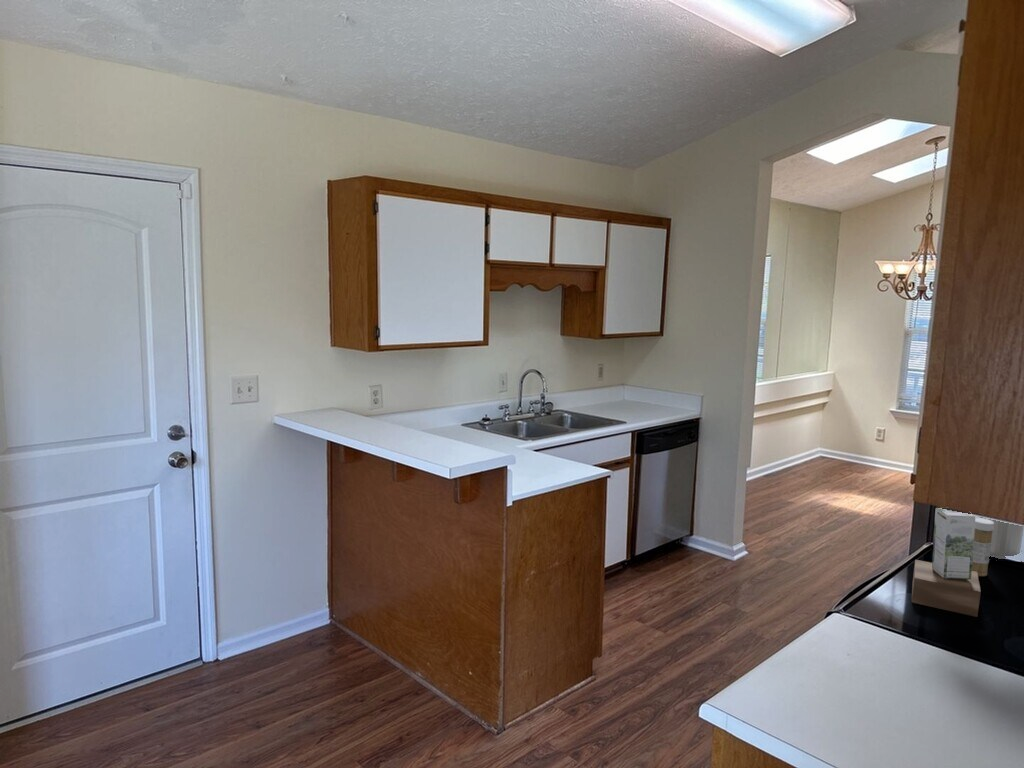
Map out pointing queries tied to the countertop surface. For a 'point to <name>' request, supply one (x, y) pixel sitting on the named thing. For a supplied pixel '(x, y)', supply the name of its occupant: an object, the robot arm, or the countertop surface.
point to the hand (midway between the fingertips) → (968, 461)
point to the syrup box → (953, 544)
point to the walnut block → (945, 590)
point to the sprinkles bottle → (982, 545)
